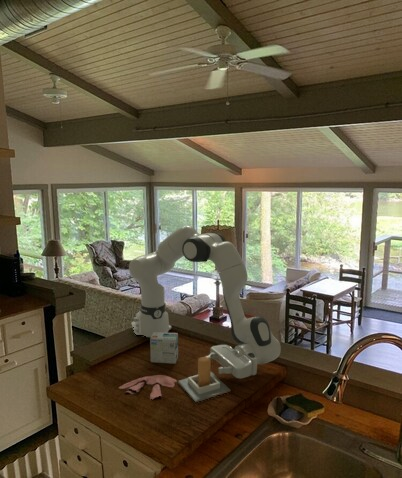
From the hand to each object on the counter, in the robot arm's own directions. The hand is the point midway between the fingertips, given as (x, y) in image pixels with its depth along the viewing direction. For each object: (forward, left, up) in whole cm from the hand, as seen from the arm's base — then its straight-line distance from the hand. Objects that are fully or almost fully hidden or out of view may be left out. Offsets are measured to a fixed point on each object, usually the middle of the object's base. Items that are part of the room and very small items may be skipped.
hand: (211, 365), depth 139 cm
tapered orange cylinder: (0, -3, -7) cm, 8 cm away
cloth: (-9, -22, -9) cm, 25 cm away
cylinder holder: (0, -3, -8) cm, 9 cm away
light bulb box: (-26, -8, -8) cm, 29 cm away
